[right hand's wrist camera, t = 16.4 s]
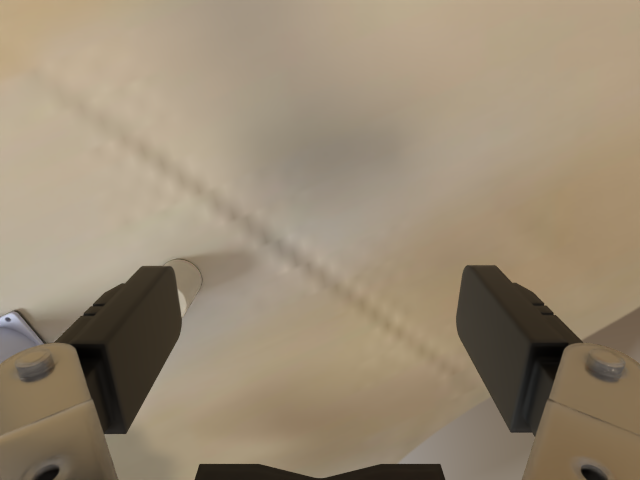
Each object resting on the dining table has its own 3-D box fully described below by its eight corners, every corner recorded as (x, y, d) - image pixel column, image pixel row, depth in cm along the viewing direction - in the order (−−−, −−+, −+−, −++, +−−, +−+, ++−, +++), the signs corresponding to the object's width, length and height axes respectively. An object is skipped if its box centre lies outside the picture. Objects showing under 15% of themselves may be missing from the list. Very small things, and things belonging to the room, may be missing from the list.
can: (156, 290, 39) (135, 317, 34) (163, 254, 37) (142, 277, 33) (198, 301, 39) (182, 328, 35) (205, 265, 38) (190, 289, 33)
